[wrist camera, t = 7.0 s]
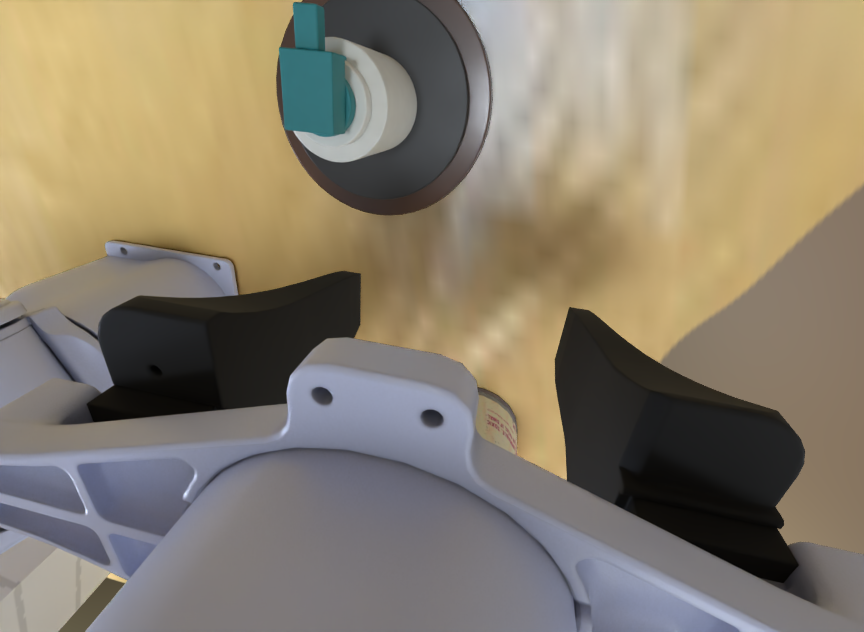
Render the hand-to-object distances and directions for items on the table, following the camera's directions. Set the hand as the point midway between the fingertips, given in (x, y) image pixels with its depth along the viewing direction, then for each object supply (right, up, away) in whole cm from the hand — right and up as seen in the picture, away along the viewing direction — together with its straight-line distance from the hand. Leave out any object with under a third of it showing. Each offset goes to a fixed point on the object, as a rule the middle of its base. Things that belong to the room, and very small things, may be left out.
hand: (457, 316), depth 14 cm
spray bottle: (-4, +10, +6) cm, 13 cm away
